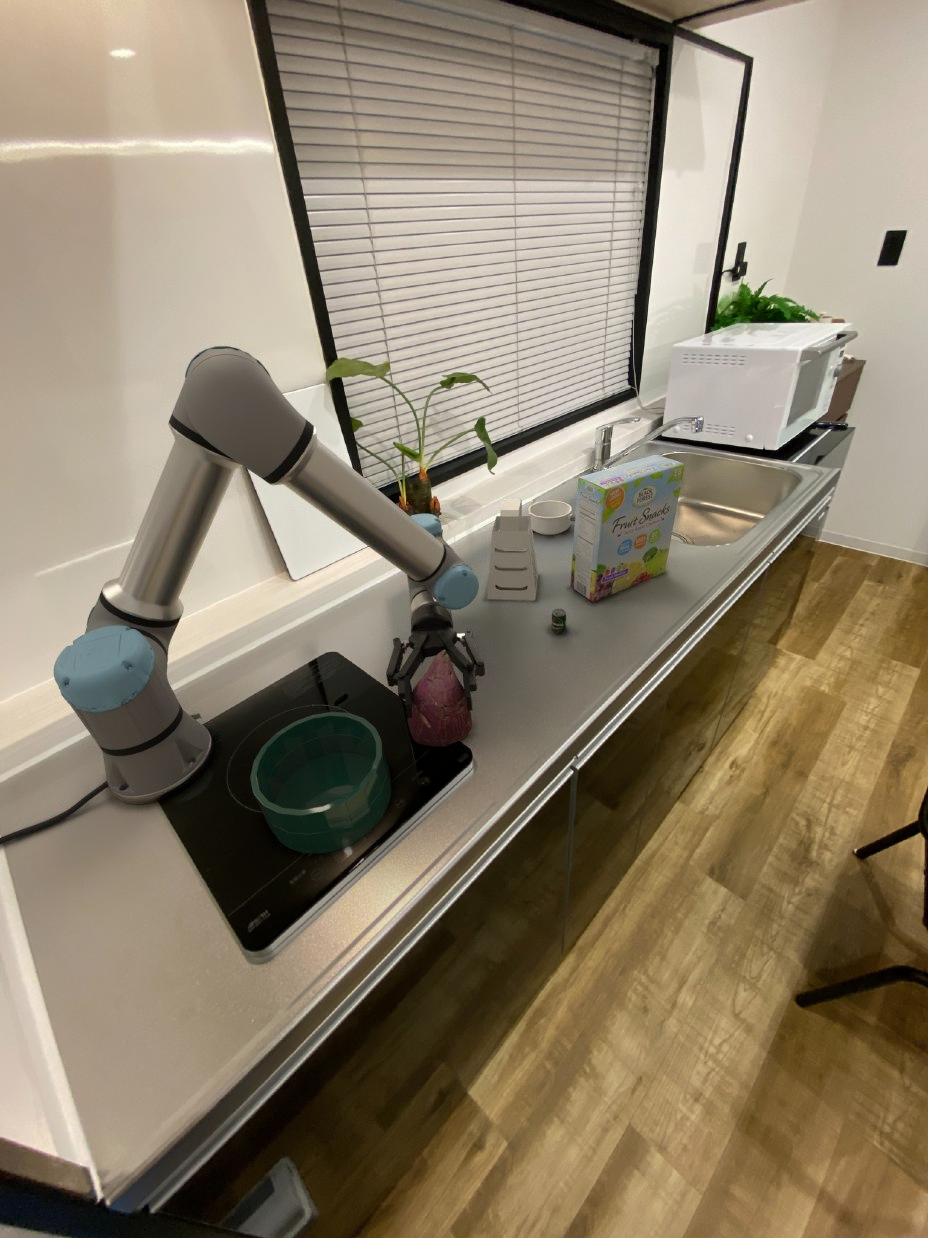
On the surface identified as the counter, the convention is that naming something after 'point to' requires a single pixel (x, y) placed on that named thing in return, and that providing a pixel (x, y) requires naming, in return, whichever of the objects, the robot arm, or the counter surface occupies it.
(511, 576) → the grater
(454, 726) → the vegetable
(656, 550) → the snack box
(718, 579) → the counter surface
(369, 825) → the pot
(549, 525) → the saucepan
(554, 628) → the beer can
